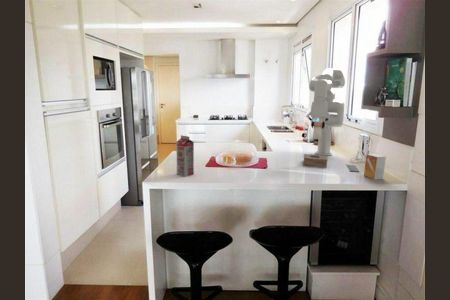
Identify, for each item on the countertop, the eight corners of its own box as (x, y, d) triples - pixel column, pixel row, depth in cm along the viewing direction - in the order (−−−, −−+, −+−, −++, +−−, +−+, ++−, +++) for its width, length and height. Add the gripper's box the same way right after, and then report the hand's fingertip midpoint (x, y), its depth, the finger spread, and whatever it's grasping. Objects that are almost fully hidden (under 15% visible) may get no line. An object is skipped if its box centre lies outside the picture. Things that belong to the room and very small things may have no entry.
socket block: (303, 162, 197) (304, 153, 196) (324, 164, 194) (325, 155, 193) (303, 167, 184) (304, 158, 183) (326, 169, 180) (327, 159, 179)
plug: (312, 137, 189) (313, 121, 187) (321, 138, 187) (322, 121, 185) (312, 139, 184) (313, 121, 182) (321, 139, 182) (322, 122, 180)
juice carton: (185, 172, 166) (185, 134, 161) (193, 174, 162) (193, 136, 157) (176, 174, 161) (176, 135, 156) (184, 177, 156) (184, 137, 152)
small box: (363, 175, 167) (366, 153, 165) (372, 175, 169) (374, 153, 167) (374, 179, 160) (377, 156, 157) (383, 178, 162) (386, 156, 159)
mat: (335, 164, 193) (335, 163, 193) (355, 166, 190) (355, 165, 190) (338, 170, 178) (338, 169, 178) (359, 172, 175) (359, 171, 174)
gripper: (333, 100, 182) (331, 128, 186) (305, 99, 187) (303, 126, 190) (334, 100, 175) (332, 129, 179) (305, 99, 179) (303, 128, 183)
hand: (317, 127), depth 184 cm, fingers closed on plug, 5 cm apart
